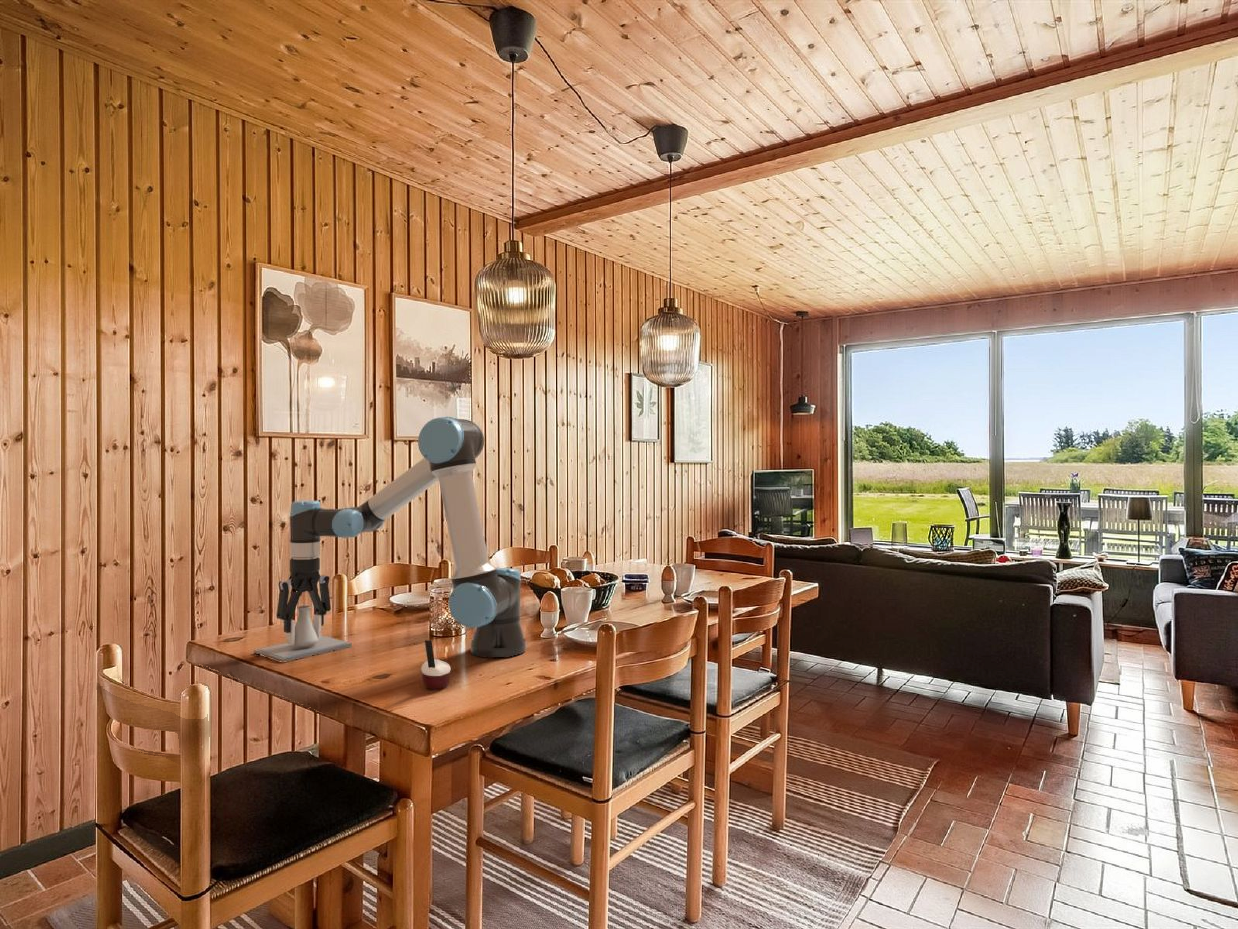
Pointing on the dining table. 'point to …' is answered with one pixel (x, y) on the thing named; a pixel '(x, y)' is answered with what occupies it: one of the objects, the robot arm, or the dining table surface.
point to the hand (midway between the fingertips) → (304, 641)
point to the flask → (304, 628)
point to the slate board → (302, 649)
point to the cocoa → (434, 670)
